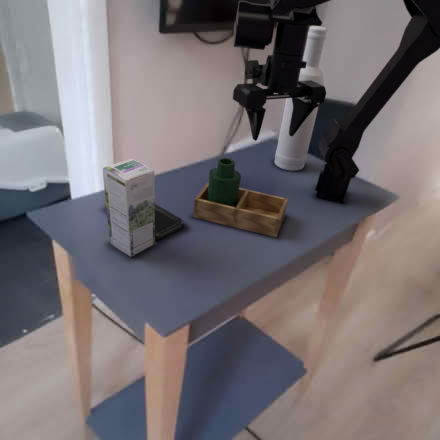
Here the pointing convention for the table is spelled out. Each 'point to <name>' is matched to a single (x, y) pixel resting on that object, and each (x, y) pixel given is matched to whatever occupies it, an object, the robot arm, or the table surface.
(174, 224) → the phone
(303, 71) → the bottle
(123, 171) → the syrup box
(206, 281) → the table surface
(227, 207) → the wooden divided tray
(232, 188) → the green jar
